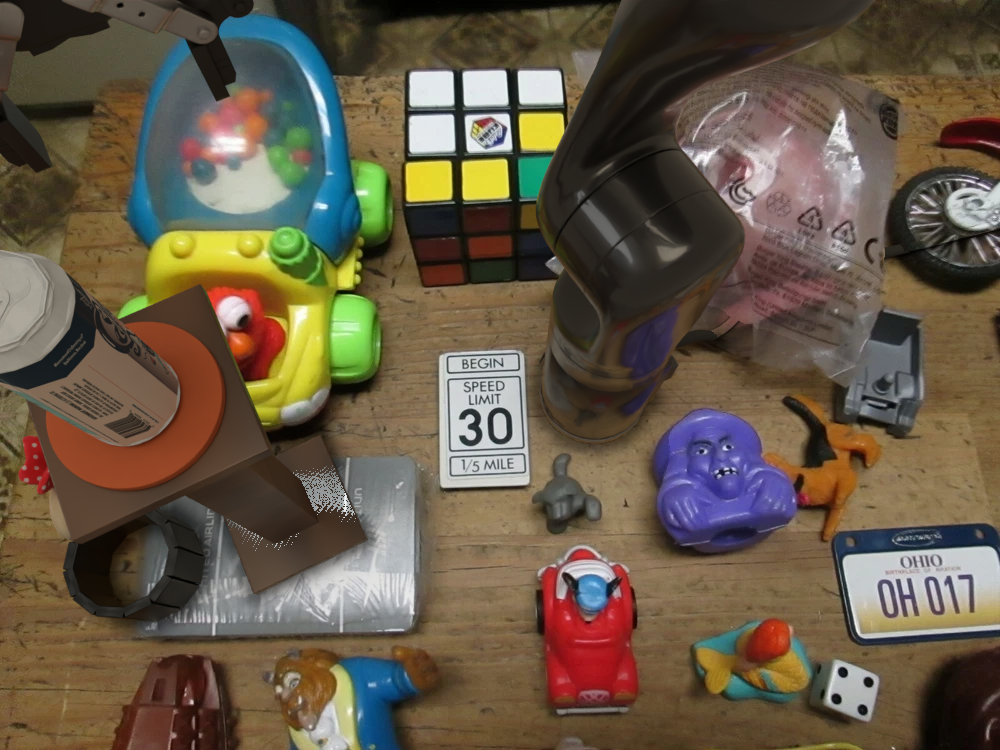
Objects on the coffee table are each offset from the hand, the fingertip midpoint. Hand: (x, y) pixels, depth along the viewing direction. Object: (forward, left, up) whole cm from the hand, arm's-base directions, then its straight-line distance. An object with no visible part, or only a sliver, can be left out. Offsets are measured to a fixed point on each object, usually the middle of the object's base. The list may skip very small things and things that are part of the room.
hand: (130, 120), depth 38 cm
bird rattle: (+19, +2, -38) cm, 43 cm away
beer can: (+6, +10, -7) cm, 13 cm away
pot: (+18, +9, -38) cm, 43 cm away
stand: (+6, +10, -38) cm, 40 cm away
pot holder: (+6, +10, -7) cm, 14 cm away
